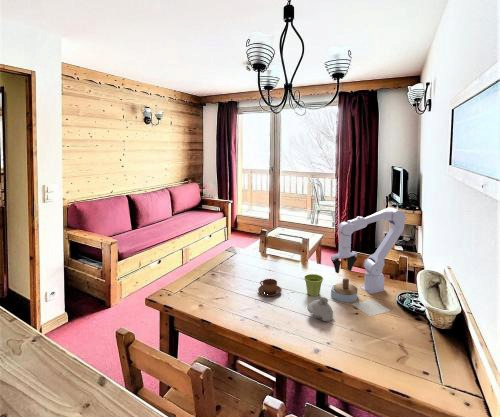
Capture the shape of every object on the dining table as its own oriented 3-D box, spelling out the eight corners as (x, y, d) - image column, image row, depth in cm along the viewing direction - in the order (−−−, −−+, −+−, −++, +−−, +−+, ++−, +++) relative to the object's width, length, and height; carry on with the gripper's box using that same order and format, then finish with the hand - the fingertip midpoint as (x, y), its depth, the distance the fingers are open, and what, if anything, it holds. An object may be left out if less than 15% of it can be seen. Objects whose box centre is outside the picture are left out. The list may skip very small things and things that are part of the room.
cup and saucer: (254, 296, 160) (254, 284, 159) (262, 286, 171) (262, 275, 170) (278, 299, 156) (278, 288, 155) (284, 289, 167) (284, 278, 166)
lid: (351, 284, 162) (351, 274, 161) (361, 294, 152) (362, 283, 151) (330, 286, 161) (330, 275, 160) (339, 295, 150) (339, 284, 149)
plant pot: (323, 298, 156) (323, 282, 155) (303, 297, 158) (303, 280, 157) (322, 290, 165) (323, 274, 164) (304, 289, 167) (304, 273, 166)
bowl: (346, 289, 165) (346, 282, 165) (362, 299, 154) (362, 292, 154) (326, 294, 161) (327, 286, 160) (341, 304, 150) (342, 296, 149)
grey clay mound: (337, 322, 140) (344, 304, 135) (317, 330, 134) (323, 311, 129) (319, 304, 149) (325, 286, 144) (300, 311, 143) (304, 293, 138)
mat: (371, 300, 154) (371, 299, 154) (390, 311, 143) (391, 310, 143) (351, 304, 150) (351, 304, 150) (369, 317, 139) (369, 316, 139)
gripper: (351, 242, 167) (349, 266, 169) (327, 245, 161) (326, 270, 164) (360, 245, 160) (358, 271, 163) (336, 249, 155) (335, 275, 157)
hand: (343, 271), depth 163 cm, fingers open, 7 cm apart
